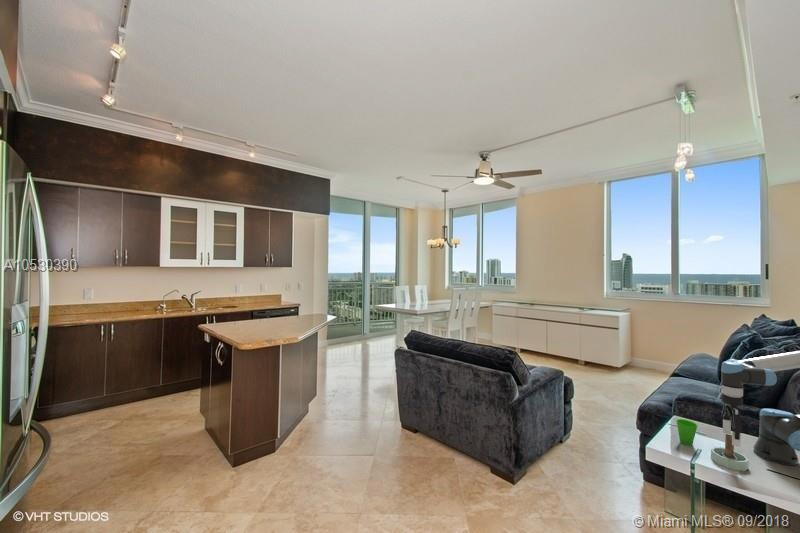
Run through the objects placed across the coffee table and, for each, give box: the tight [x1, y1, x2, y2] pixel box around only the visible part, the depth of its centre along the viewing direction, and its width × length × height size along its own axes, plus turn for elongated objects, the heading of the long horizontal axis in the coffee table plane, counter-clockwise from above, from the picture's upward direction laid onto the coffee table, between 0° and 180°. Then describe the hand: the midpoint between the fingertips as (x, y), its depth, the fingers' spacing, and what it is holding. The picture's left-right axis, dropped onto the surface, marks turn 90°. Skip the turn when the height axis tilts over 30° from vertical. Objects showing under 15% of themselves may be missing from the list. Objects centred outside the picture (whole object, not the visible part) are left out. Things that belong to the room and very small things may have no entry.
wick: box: [724, 433, 735, 458], centre depth 166 cm, size 2×2×12 cm
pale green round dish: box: [710, 446, 750, 471], centre depth 166 cm, size 13×13×4 cm
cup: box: [675, 418, 699, 446], centre depth 183 cm, size 9×9×11 cm
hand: (731, 439), depth 165 cm, fingers open, 13 cm apart
